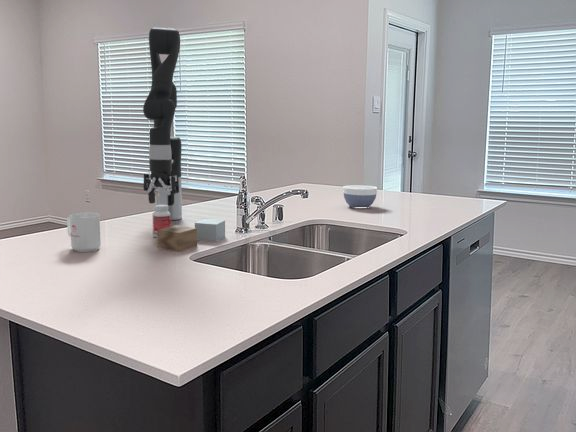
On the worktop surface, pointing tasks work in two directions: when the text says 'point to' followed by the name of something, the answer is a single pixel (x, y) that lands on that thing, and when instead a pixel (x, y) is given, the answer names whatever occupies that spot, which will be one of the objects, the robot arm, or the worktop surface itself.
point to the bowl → (359, 195)
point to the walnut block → (177, 238)
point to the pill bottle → (161, 218)
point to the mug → (84, 231)
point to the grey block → (210, 230)
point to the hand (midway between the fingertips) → (161, 204)
